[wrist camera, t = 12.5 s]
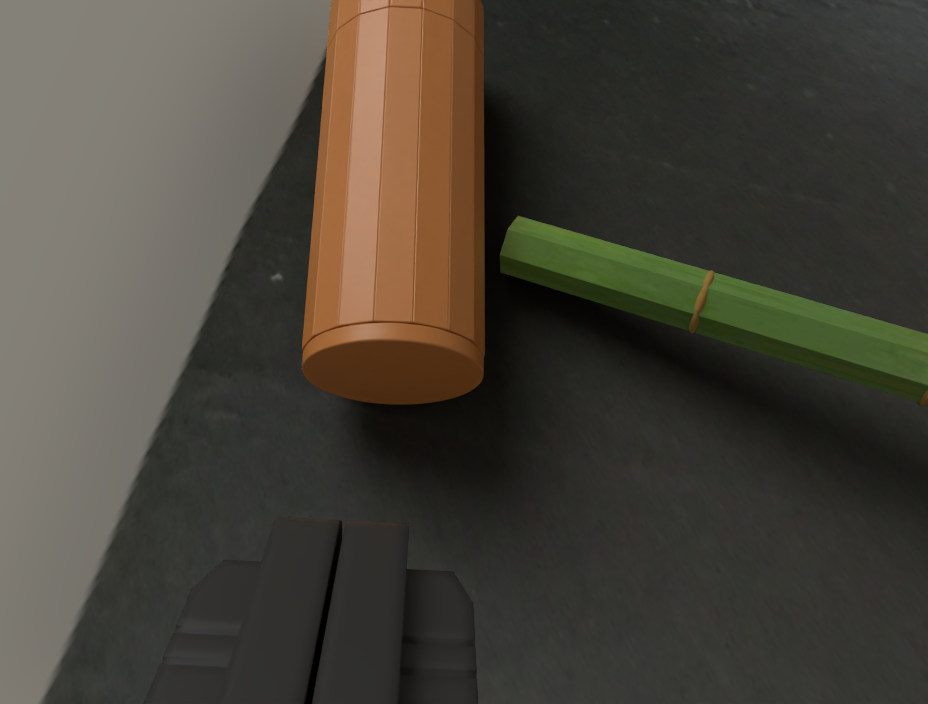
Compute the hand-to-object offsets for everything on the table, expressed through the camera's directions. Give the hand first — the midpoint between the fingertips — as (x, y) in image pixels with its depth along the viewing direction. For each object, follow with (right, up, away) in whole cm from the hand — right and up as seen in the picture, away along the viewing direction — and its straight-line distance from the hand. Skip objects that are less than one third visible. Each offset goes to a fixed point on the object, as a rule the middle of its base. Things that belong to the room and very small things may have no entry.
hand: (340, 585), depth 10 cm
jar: (-1, +2, +18) cm, 18 cm away
